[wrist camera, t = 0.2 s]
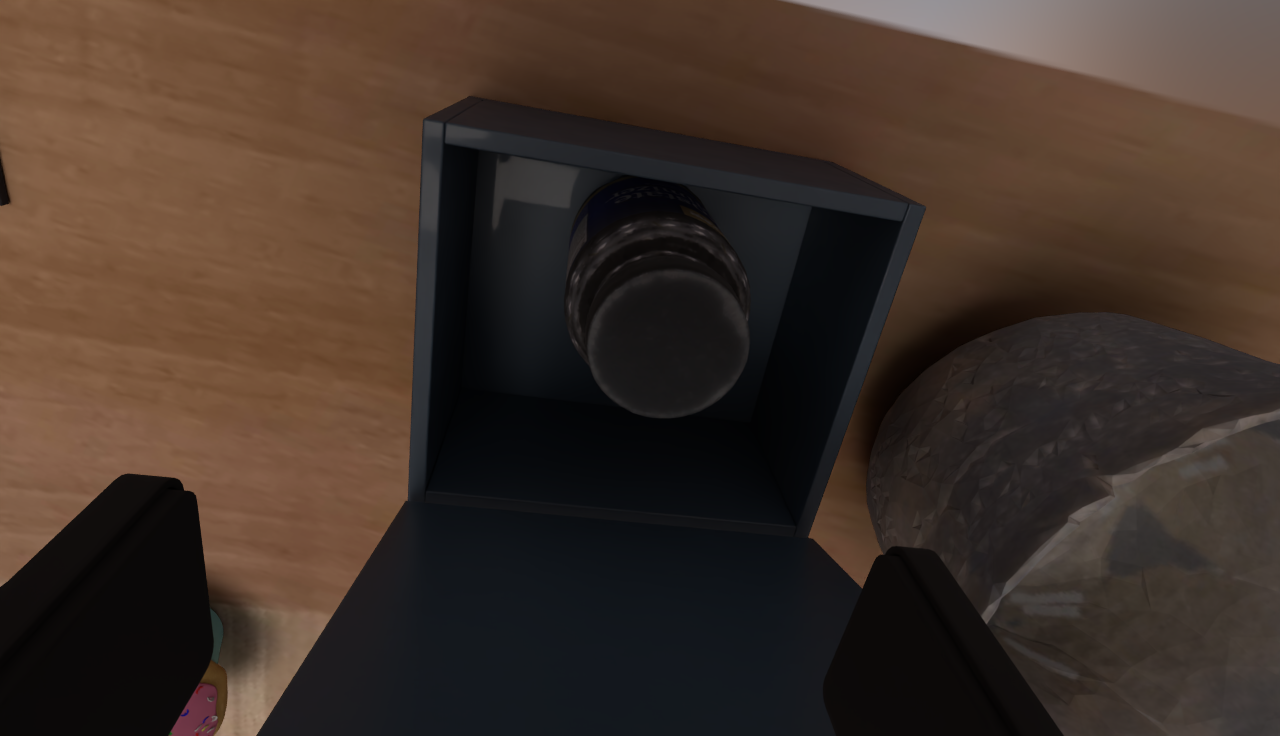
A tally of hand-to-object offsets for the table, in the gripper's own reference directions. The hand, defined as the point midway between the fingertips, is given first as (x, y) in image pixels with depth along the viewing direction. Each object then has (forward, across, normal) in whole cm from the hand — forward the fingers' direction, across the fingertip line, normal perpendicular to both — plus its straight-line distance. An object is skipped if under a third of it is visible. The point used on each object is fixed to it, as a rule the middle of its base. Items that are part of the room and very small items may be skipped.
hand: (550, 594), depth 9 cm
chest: (+22, -3, +2) cm, 22 cm away
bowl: (+22, -22, +6) cm, 32 cm away
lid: (+6, -3, +6) cm, 9 cm away
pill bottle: (+21, -3, 0) cm, 21 cm away
